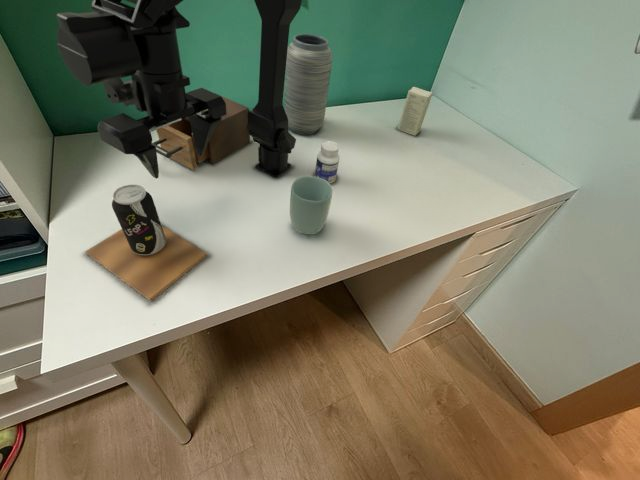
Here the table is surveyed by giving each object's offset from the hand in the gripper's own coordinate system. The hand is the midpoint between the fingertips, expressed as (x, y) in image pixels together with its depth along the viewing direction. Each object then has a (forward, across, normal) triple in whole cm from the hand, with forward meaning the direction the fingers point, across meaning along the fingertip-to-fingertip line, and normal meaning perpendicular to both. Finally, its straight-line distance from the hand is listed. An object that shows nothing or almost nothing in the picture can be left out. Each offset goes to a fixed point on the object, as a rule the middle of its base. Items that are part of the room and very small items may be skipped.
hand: (178, 165), depth 55 cm
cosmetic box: (+11, -70, +19) cm, 73 cm away
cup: (+13, -14, +19) cm, 27 cm away
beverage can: (+13, +9, 0) cm, 16 cm away
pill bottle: (+12, -31, +12) cm, 36 cm away
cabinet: (+12, -24, -16) cm, 31 cm away
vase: (+12, -48, -6) cm, 50 cm away
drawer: (+12, -15, -16) cm, 25 cm away
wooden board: (+13, +10, +1) cm, 17 cm away
